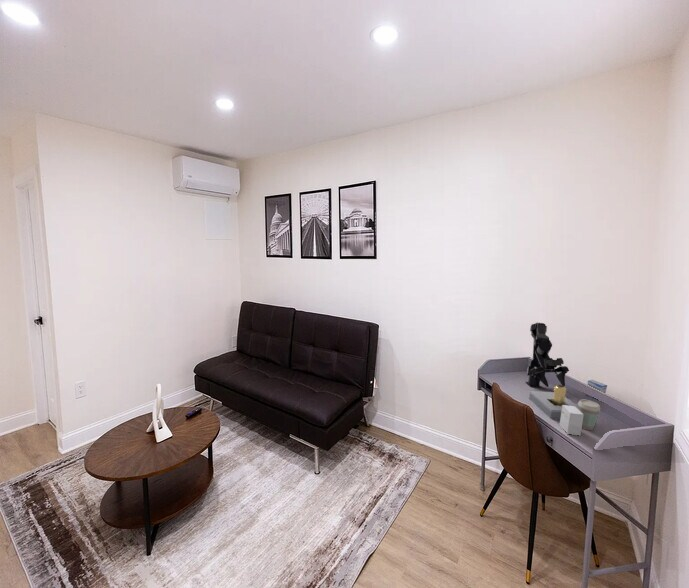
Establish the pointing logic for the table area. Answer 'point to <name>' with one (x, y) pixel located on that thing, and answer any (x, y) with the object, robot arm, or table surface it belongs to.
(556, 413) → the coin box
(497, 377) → the table surface
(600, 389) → the medicine box
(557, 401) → the brass cylinder
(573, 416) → the small box
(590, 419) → the coffee cup
